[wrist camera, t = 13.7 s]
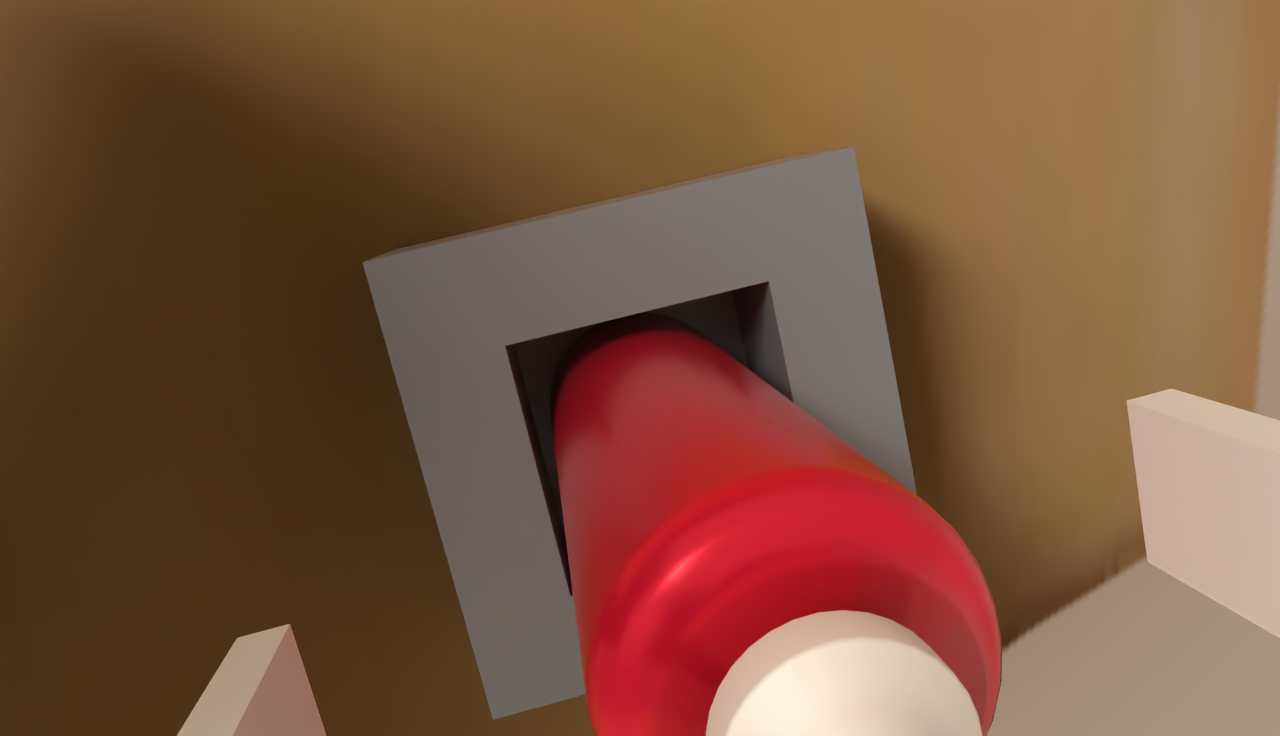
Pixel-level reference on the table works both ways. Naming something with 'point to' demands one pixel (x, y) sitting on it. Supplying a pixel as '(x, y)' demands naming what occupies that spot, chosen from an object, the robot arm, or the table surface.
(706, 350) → the bottle
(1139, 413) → the robot arm
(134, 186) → the table surface
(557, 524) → the holder
